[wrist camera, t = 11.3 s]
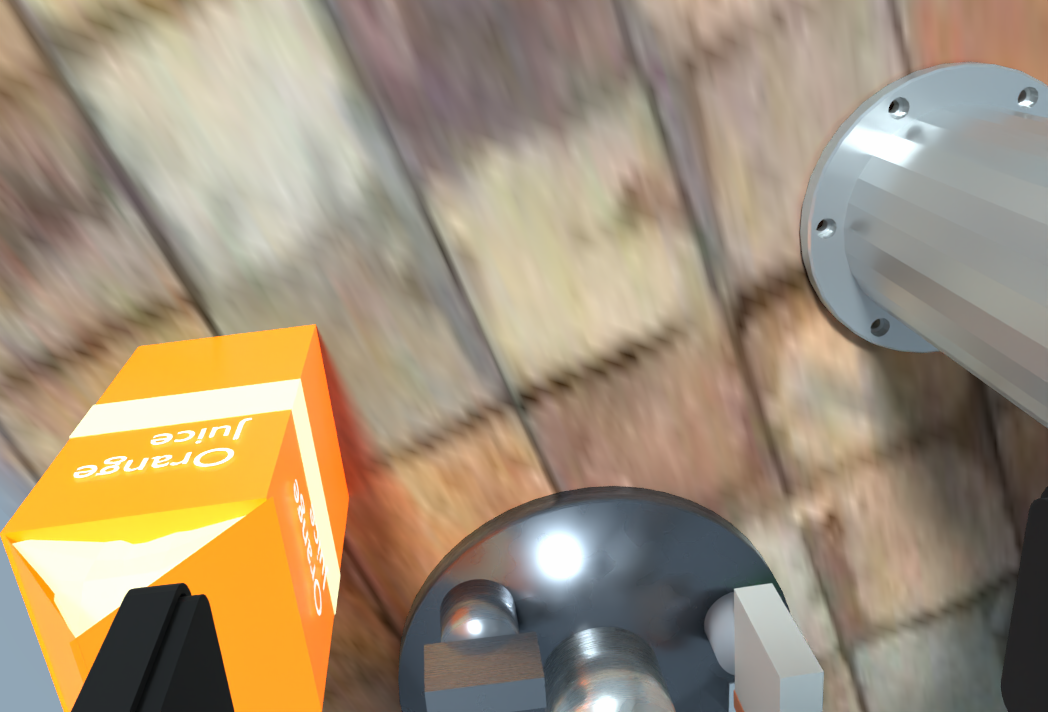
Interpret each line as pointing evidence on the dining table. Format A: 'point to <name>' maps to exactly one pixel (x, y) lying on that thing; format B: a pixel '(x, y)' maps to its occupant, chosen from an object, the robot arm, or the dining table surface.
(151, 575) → the orange juice
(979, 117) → the robot arm
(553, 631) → the tribrach base
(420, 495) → the dining table surface
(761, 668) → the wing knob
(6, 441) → the dining table surface
